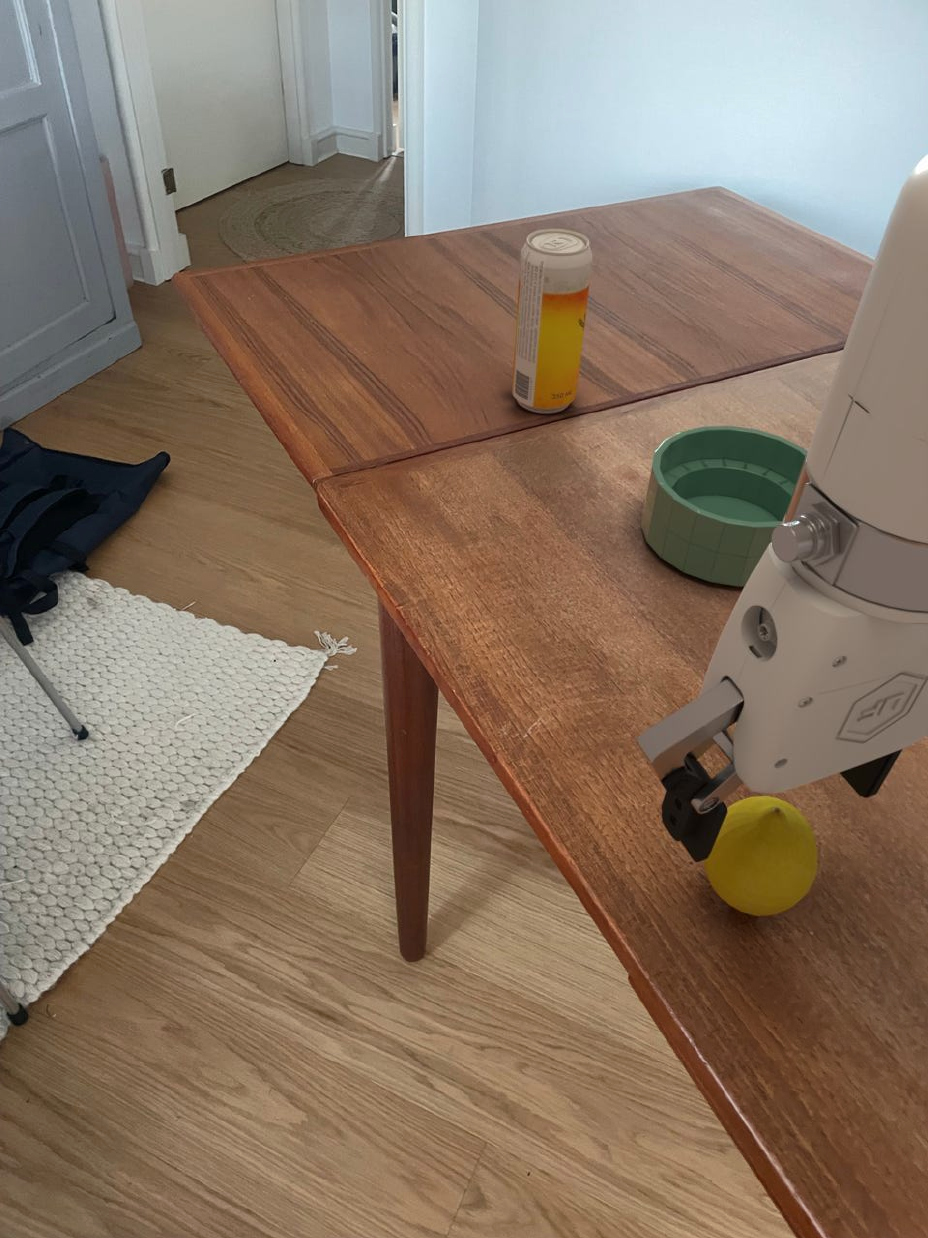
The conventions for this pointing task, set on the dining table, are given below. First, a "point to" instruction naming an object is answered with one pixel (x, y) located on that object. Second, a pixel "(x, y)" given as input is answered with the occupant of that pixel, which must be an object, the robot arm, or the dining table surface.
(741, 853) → the fruit
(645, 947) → the dining table surface
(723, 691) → the robot arm
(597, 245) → the dining table surface
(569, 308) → the beer can
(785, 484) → the green pet bowl
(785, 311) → the dining table surface
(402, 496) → the dining table surface
